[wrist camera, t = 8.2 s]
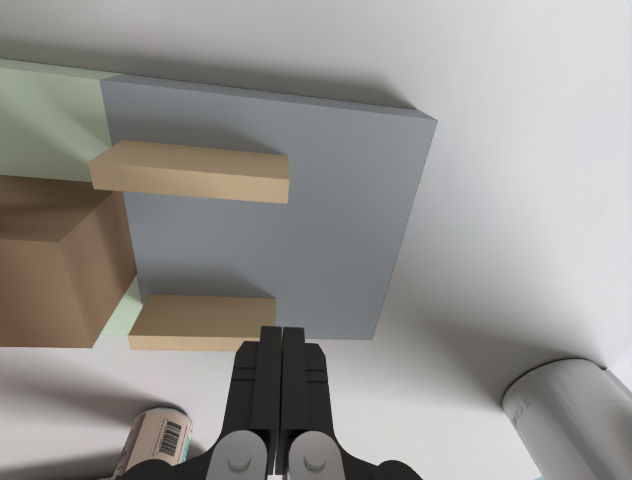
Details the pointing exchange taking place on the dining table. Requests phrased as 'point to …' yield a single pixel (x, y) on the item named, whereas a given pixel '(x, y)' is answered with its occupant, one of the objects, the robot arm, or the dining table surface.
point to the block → (60, 261)
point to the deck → (227, 197)
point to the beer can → (156, 439)
